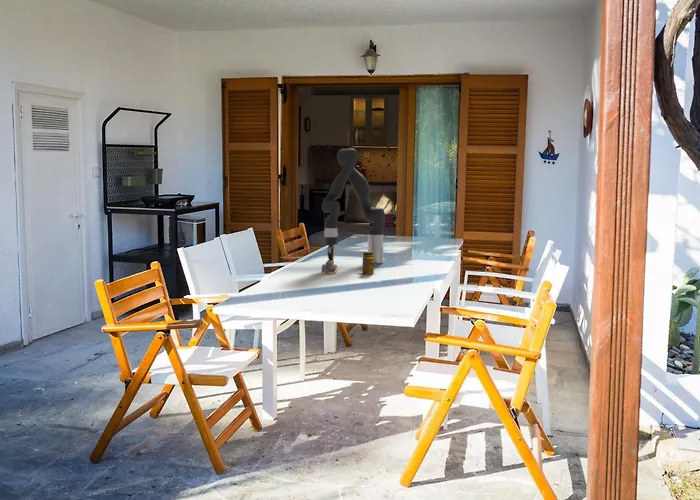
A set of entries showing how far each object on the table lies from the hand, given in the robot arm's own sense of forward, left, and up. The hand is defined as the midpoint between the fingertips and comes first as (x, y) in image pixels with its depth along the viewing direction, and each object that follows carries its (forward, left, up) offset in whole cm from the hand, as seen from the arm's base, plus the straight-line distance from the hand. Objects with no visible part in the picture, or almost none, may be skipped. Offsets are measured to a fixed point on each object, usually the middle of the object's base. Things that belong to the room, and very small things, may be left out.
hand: (331, 266), depth 394 cm
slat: (0, +8, -1) cm, 8 cm away
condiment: (-21, +13, -2) cm, 25 cm away
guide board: (0, +3, -2) cm, 4 cm away
